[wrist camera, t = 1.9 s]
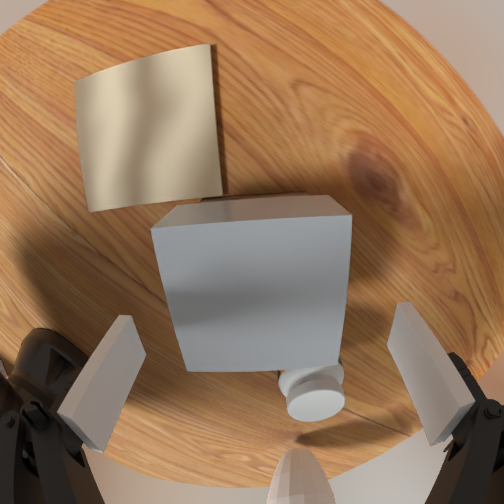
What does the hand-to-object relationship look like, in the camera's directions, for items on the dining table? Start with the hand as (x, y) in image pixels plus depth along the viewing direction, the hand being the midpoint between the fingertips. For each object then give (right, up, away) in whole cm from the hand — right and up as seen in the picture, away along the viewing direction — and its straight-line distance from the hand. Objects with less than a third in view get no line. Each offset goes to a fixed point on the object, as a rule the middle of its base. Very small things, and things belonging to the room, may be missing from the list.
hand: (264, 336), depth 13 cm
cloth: (-10, +14, +8) cm, 19 cm away
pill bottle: (+5, -4, +15) cm, 17 cm away
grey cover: (0, +3, +7) cm, 7 cm away
